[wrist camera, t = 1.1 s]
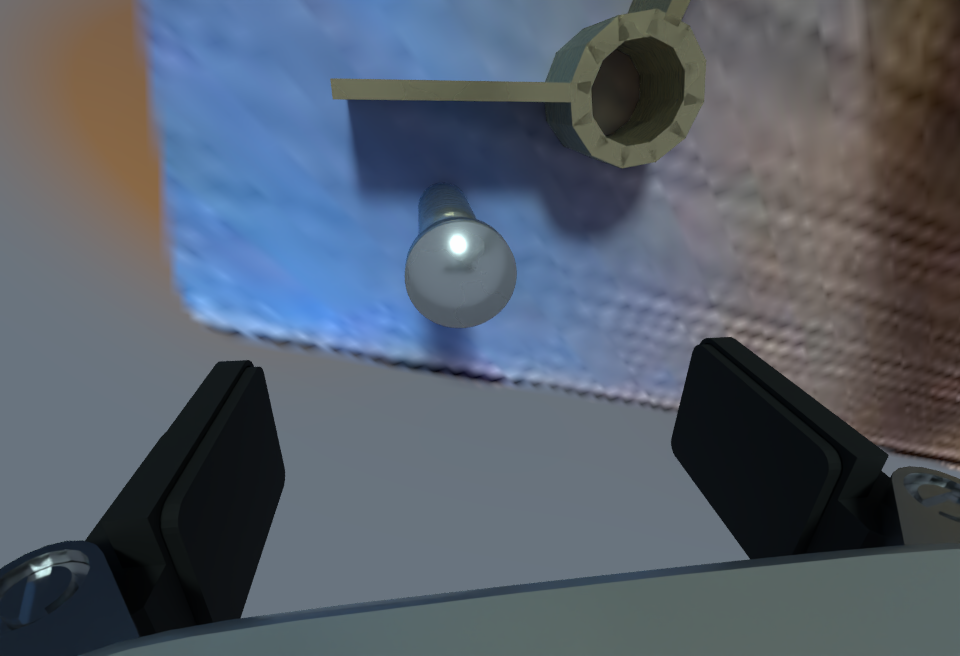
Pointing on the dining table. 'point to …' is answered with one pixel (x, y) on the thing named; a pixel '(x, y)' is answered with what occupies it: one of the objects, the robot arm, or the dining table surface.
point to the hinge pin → (457, 262)
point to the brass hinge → (567, 90)
